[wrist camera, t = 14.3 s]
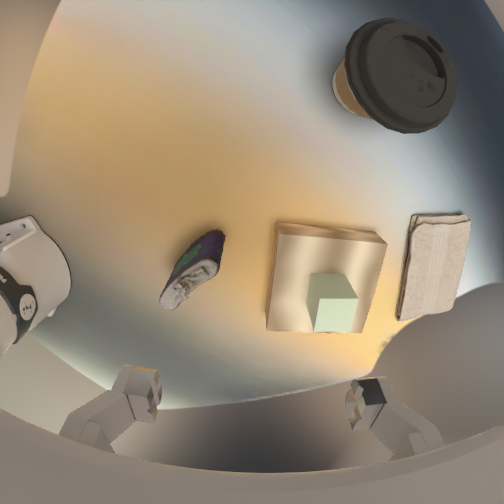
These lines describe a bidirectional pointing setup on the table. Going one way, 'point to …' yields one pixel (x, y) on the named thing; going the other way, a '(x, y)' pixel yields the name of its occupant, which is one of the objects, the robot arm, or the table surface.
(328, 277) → the sage block
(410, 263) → the washcloth
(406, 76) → the coffee cup
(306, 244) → the birch block
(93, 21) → the table surface
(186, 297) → the dark blue flattened pouch
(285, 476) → the robot arm
